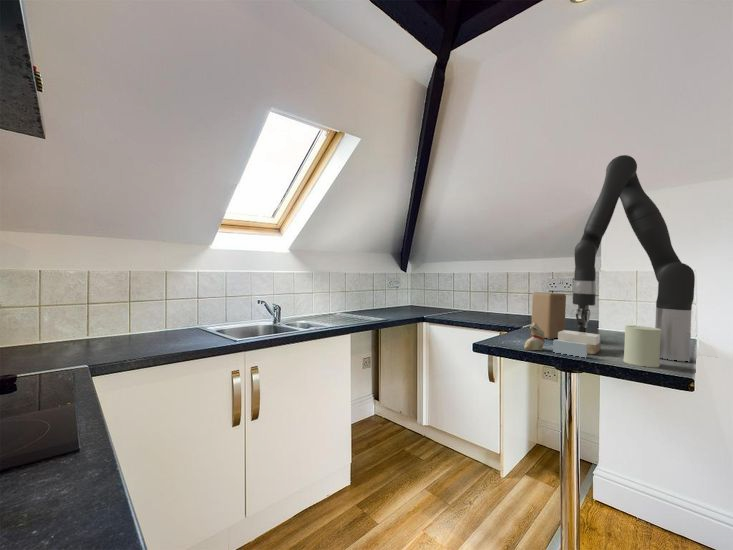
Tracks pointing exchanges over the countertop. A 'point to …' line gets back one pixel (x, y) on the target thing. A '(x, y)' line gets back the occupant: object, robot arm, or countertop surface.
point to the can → (642, 346)
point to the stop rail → (570, 348)
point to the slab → (579, 337)
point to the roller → (591, 349)
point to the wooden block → (549, 313)
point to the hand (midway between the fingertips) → (582, 337)
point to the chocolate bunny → (535, 339)
